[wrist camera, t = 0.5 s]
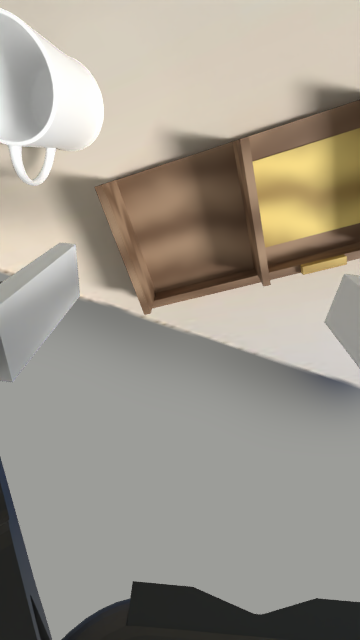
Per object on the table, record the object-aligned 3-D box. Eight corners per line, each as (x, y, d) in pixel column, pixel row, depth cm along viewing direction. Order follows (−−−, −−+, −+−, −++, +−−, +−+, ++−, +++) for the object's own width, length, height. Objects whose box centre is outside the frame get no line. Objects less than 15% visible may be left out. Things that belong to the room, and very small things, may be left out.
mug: (89, 191, 36) (46, 206, 25) (19, 163, 35) (-57, 167, 24) (112, 76, 30) (69, 34, 20) (29, 37, 29) (-63, -28, 19)
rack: (111, 181, 35) (94, 187, 29) (379, 93, 30) (427, 77, 24) (153, 297, 42) (147, 321, 36) (374, 243, 37) (409, 260, 31)
